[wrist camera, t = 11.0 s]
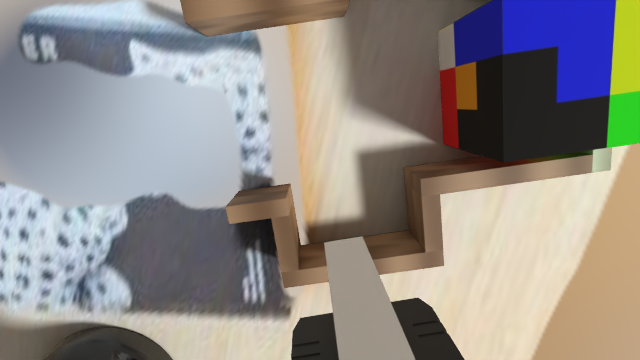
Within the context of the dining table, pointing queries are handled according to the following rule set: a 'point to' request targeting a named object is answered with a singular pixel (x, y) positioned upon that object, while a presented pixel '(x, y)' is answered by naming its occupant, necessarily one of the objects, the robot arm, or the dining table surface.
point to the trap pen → (420, 181)
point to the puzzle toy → (541, 78)
